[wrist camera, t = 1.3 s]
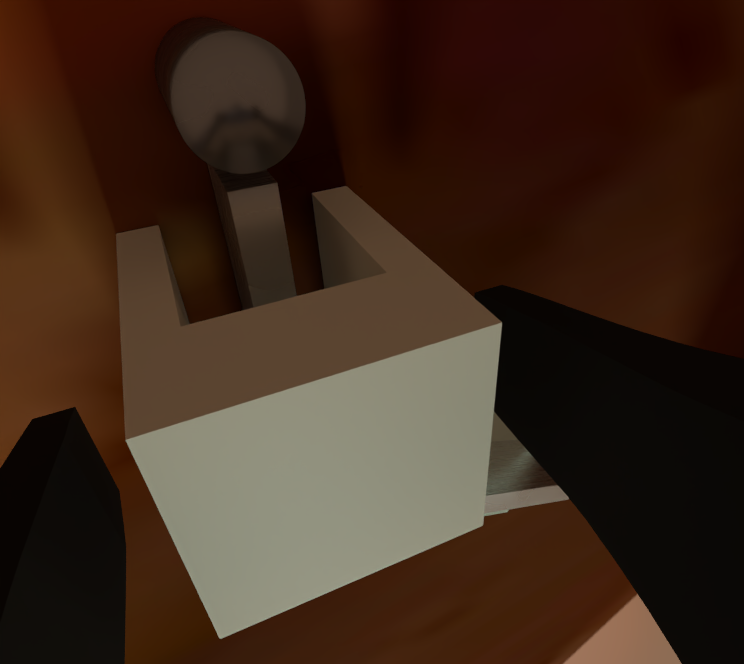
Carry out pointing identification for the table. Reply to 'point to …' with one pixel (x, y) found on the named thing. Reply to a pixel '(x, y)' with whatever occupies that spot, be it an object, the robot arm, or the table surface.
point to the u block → (309, 416)
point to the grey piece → (275, 184)
